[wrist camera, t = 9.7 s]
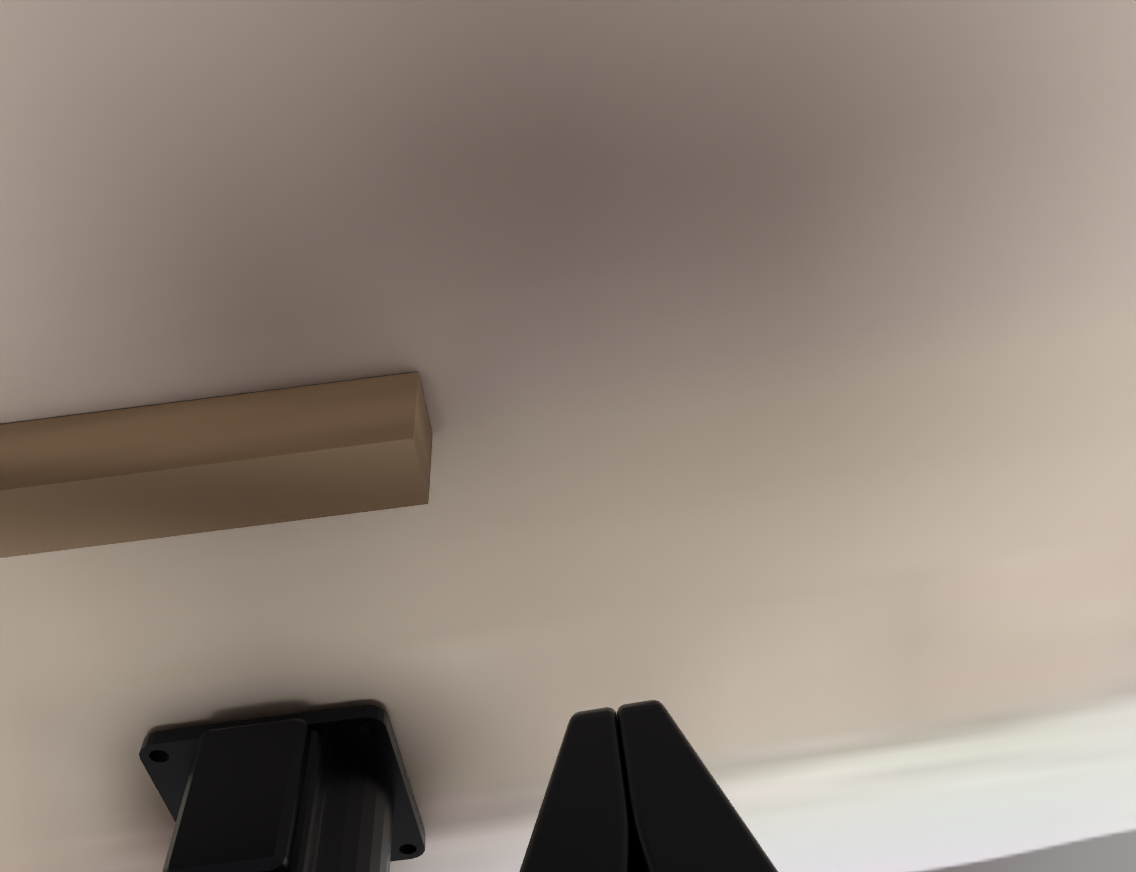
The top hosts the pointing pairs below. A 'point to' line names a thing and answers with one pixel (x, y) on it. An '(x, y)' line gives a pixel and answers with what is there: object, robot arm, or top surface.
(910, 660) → the top surface
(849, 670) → the top surface
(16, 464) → the bay
